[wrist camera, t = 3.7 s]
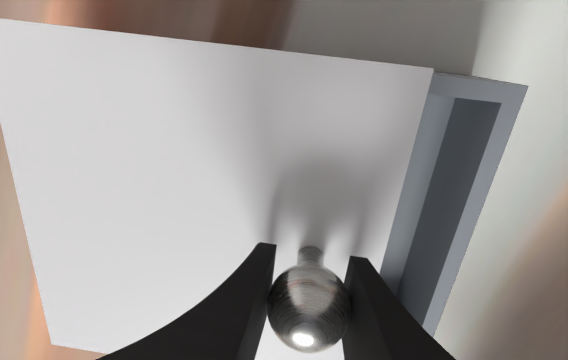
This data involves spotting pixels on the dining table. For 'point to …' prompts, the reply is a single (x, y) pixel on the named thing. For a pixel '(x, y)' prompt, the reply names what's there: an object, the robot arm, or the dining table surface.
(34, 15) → the dining table surface
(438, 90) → the grey shallow tray
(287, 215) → the lid
